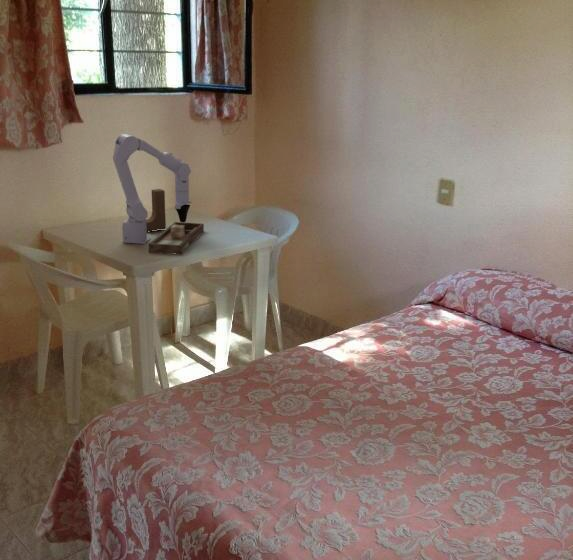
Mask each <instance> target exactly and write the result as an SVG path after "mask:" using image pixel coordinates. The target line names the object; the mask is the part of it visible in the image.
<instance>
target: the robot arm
mask: <svg viewBox="0 0 573 560" xmlns="http://www.w3.org/2000/svg"><path fill="white" fill-rule="evenodd" d="M114 143H115V145H114V151H113V156H112V159H113V163H114V166H115V169H116V172H117V175H118V178H119V181H120V183H121V187H122V190H123V193H124V196H125V205H126V209H125V211H126V214H127V216H128V219H124V220H123V222H122V225H121V227H122V228H121V229H122V241H121V242H122V243H126V244H140V245H144V244H146V243H147V242H149V241H150V240H151V237H148V235H147V233H148V232H147V230H146V220H147V218H148V214H149V213H148V210H147V209H146V208H145V206H144V205H143V203H142V201H141V199H140V197H139V193H138V192H137V187H136V185H135V181H134V178H133V177H132V172H131V170H130V166H129V162H128V160H129V158H131V155H132V154H134V153H135V152H136V151H139V152H140V151H141V152H142V151H143V152H145V153H147V154H149V155H150V156H152V157H154V158H156V159H157V160H158V163H159V164H160V165H161V166H163V167H165V168H166V169H167V170H169V171H170V172H173V174H174V184H175V185H174V188H175V189H174V190H175V191H174V192H175V201H174V203H175V206H174V209H175V211H176V212H177V215H178V219H179V222H184V223H187V218H188V212H189V209H190V207H191V205H190V204H192V203H193V200H190V180H189V179H190V178H189V176H190V175H191V171H192V170H191V167H190V165H189V164H187V163H185V162H183V161H182V159H181V158H177V157H176V156H174V154H173V153H172V152H170V151H169V152H167V151H164V152H162V151H160V150H159V149H157V148H155V146H153V145H152V144H150V143H148V142H147V141H145V140H143V139H141V138H138V137H136V136H134V135H130V134H129V133H126V132H125V133H121V134H120V135H118V137H117V138H116V140H115V141H114Z"/></svg>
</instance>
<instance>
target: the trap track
mask: <svg viewBox="0 0 573 560" xmlns="http://www.w3.org/2000/svg"><path fill="white" fill-rule="evenodd" d="M173 225H184V233H185V236H184V237H182V238H171V227H172V226H173ZM204 225H205V224H204V223H199V222H180V221H175V222H173V223H172V224H171V225H170V226H169V227H167V228H166V230H163V231H162V232H161V233H160V234H158V236H156V237H155V238H154V239H153V240H151V241H150V242H149V243H148V253H152V252H162V253H161V254H168V253H176V254H175V255H182V254H183V253H184V252H185V251H186V250H187V249H188V248H189V247H190V246H191V245H192V244H193V243H194V242H195V241H196V240H197V239H198V238H199V237H200V236H201V235H202V234H203V233H204V230H205V226H204ZM200 234H201V235H200ZM199 235H200V236H199ZM198 236H199V237H198ZM197 237H198V238H197ZM196 238H197V239H196Z"/></svg>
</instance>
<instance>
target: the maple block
mask: <svg viewBox="0 0 573 560" xmlns="http://www.w3.org/2000/svg"><path fill="white" fill-rule="evenodd" d="M184 236H185V233H184V225H173V226H172V227H171V238H182V237H184Z"/></svg>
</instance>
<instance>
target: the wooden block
mask: <svg viewBox="0 0 573 560" xmlns="http://www.w3.org/2000/svg"><path fill="white" fill-rule="evenodd" d="M150 191H151V209H152V211H151V216H150V217H149V218H148V219H147V218H146V230H147V233H149V232H148V231H152V230H157V229H165V228H166V226H167V224H166V223H167V222H166V199H165V197H166V196H165V195H166V192H165V190H164V189H161V188H157V189H156V188H155V189H151V190H150ZM166 229H167V228H166Z"/></svg>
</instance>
